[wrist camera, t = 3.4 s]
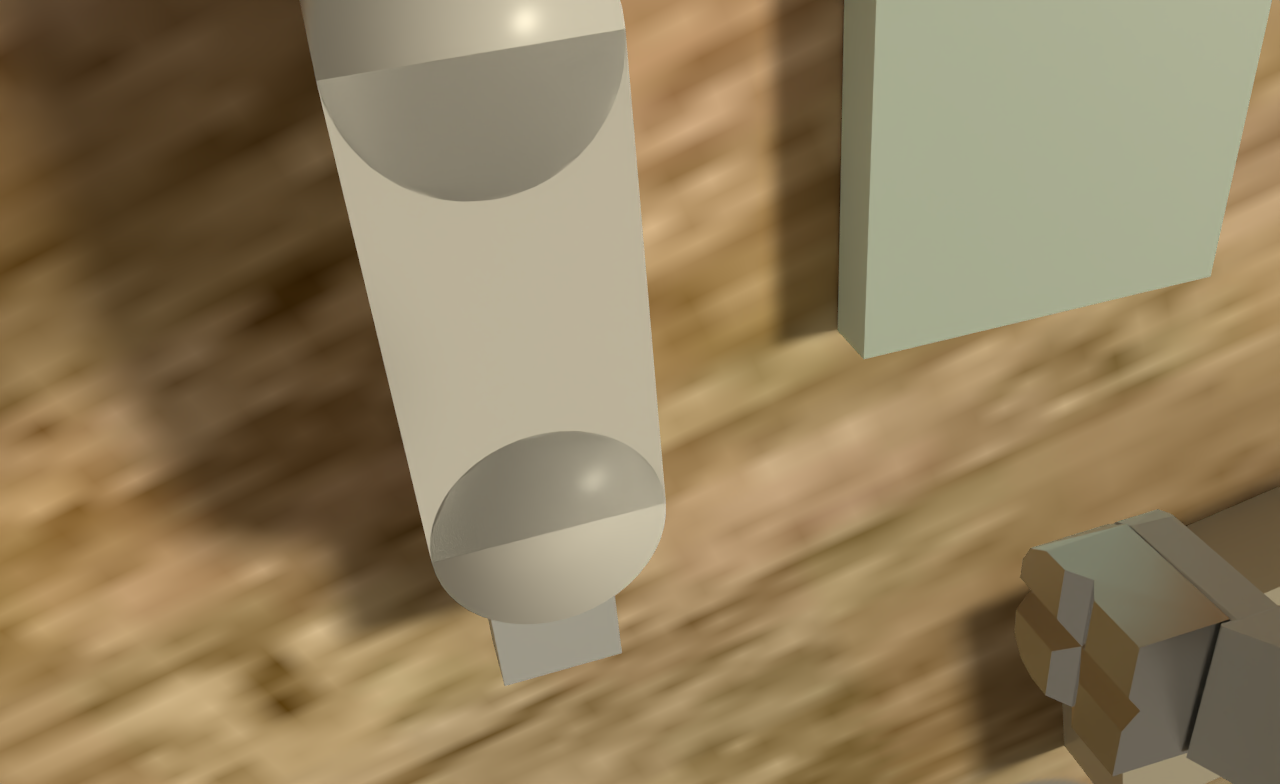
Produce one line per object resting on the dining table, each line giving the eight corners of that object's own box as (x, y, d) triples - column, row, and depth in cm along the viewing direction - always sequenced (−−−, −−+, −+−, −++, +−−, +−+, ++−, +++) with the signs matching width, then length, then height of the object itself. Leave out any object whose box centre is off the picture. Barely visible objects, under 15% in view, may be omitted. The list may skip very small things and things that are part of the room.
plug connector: (265, -141, 16) (274, -91, 13) (538, -176, 17) (611, -138, 14) (444, 608, 24) (476, 752, 21) (624, 560, 25) (682, 692, 22)
